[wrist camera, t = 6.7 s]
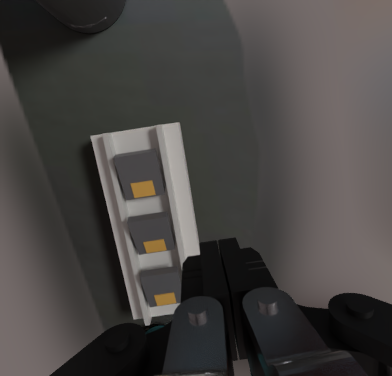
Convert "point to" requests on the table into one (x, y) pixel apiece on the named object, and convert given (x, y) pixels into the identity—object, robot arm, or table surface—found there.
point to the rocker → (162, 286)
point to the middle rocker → (151, 232)
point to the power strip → (148, 207)
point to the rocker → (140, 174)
